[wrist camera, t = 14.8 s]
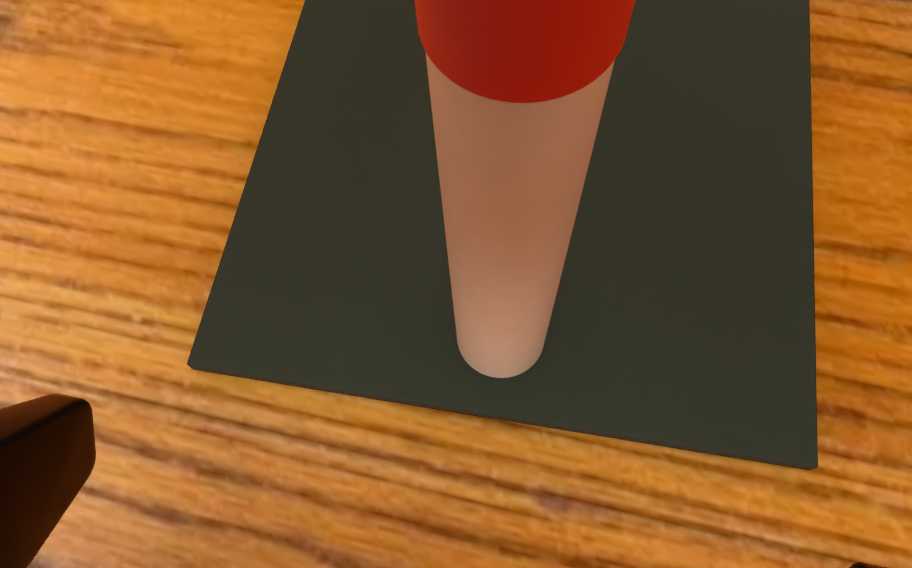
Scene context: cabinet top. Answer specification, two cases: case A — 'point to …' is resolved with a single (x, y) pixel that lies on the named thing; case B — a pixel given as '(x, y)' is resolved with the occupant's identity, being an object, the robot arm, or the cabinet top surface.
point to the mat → (590, 248)
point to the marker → (514, 155)
